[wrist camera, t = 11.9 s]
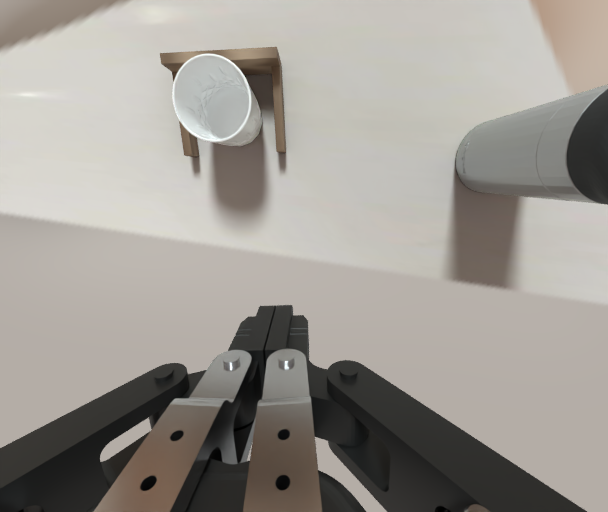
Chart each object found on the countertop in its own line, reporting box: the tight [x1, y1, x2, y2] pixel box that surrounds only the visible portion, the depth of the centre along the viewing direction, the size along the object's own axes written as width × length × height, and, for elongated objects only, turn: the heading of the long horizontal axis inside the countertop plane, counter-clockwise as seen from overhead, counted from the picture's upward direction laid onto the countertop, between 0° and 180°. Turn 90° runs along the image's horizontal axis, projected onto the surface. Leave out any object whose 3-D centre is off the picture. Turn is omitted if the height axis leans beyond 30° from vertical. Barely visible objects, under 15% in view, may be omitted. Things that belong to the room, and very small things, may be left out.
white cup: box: [172, 54, 262, 146], centre depth 33 cm, size 8×8×10 cm
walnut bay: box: [160, 47, 286, 157], centre depth 35 cm, size 13×10×5 cm
